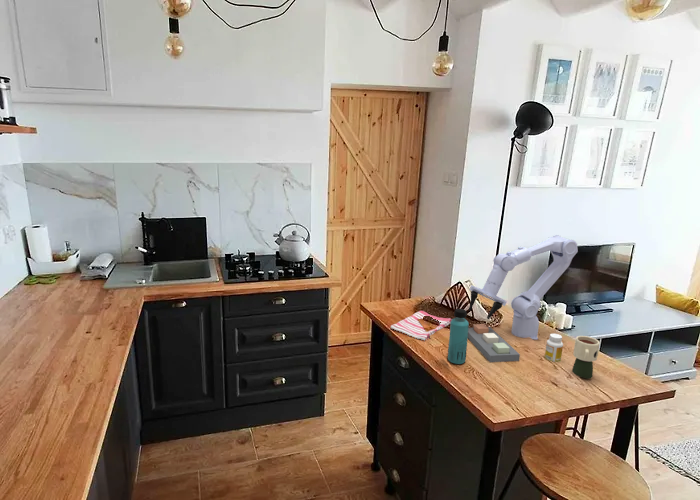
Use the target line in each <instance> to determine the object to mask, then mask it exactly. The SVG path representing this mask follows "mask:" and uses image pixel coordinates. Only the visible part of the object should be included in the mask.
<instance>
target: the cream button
mask: <svg viewBox="0 0 700 500" xmlns="http://www.w3.org/2000/svg"><path fill="white" fill-rule="evenodd" d="M498 339H499V337H497V336H496V335H495V334H494V333H483V340H484V341H485V342H486V343H498Z"/></svg>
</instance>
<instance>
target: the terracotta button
mask: <svg viewBox="0 0 700 500" xmlns="http://www.w3.org/2000/svg"><path fill="white" fill-rule="evenodd" d="M488 327H489V326H487V325H486V324H485V323H476V324H473V328H474V331H475V332H476V333H477V334H483V333H488V330H489V328H488Z"/></svg>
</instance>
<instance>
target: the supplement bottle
mask: <svg viewBox="0 0 700 500" xmlns="http://www.w3.org/2000/svg"><path fill="white" fill-rule="evenodd" d="M548 337H549V339H547V340H546V345H545V354H544V358H545V359H546V360H548V361H550V362H554V363H555V362H556V363H557V362H558V363H559V362H560V363H561V362H562V356H563V355H562V354H563V349H564V343H563V342H562V341H563V336H562V335H561V334H558V333H550V334H549V336H548Z"/></svg>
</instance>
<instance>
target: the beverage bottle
mask: <svg viewBox="0 0 700 500" xmlns="http://www.w3.org/2000/svg"><path fill="white" fill-rule="evenodd" d="M466 318H467V310H466V309H463V308H456V309H455V310H454V317H453V318H451V319H452V320H451V322H450V324H449V325H450V327H449V338H448V346H447V348H448V349H447V355H446V356H447V360H448V362H450V363H453V364H457V365H461V364H464V363H465V362H466V361H467V360H466V359H467V353H468V352H467V350H468V341H469V339H468V331H469V330H468V328H469V326H470V325H469V324H470V323H469V321H468V320H467V319H466Z"/></svg>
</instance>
